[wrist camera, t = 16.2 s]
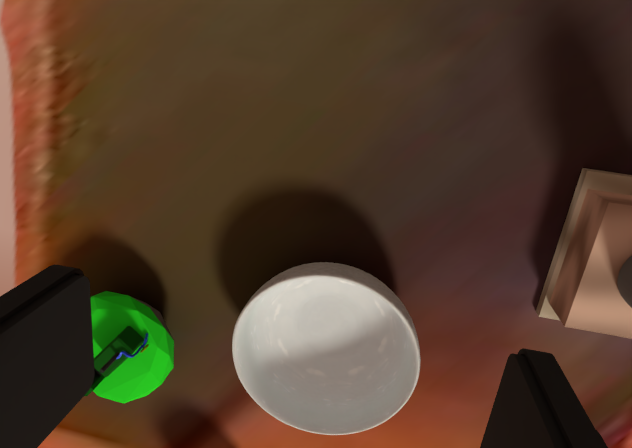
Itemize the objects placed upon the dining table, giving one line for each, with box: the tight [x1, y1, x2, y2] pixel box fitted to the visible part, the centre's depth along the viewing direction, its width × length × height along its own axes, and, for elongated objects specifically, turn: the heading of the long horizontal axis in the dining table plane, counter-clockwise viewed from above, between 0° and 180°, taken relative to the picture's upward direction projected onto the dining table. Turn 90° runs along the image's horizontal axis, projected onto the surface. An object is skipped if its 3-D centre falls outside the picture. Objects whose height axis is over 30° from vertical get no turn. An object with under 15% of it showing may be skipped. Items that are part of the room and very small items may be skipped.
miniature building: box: [84, 291, 174, 403], centre depth 46 cm, size 12×12×11 cm
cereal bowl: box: [232, 262, 421, 435], centre depth 45 cm, size 17×17×7 cm
